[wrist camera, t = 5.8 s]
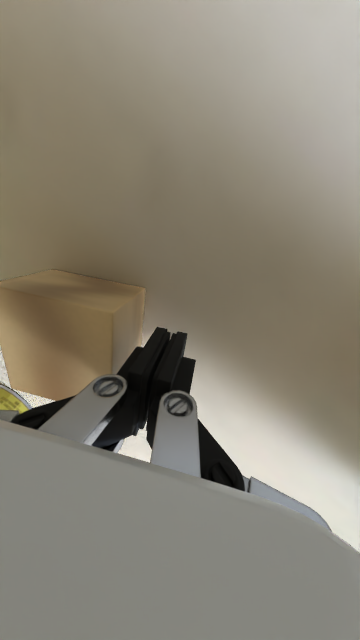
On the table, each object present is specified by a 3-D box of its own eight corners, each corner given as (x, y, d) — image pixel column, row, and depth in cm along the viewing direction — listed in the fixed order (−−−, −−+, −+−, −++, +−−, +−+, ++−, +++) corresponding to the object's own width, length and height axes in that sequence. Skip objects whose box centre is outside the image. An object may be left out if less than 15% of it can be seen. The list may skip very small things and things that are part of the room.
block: (146, 287, 12) (112, 312, 8) (139, 370, 14) (111, 417, 11) (52, 268, 13) (-17, 283, 9) (61, 351, 15) (10, 388, 11)
